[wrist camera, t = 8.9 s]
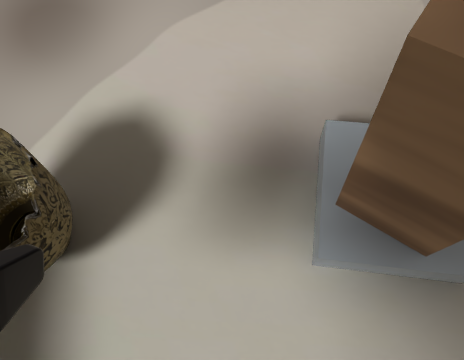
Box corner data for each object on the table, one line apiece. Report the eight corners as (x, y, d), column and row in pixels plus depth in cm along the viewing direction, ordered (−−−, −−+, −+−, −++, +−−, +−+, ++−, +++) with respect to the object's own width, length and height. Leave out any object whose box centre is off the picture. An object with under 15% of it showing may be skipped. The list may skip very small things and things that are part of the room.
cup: (104, 173, 25) (35, 109, 17) (108, 289, 22) (29, 273, 15) (-8, 193, 25) (-125, 137, 17) (-17, 311, 22) (-158, 305, 15)
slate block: (456, 283, 21) (485, 278, 18) (311, 266, 22) (318, 258, 19) (448, 153, 24) (472, 131, 21) (318, 142, 25) (325, 119, 22)
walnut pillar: (425, 256, 19) (677, 143, 7) (335, 204, 20) (407, 35, 8) (469, 175, 20) (753, -47, 8) (380, 132, 21) (503, -112, 9)
